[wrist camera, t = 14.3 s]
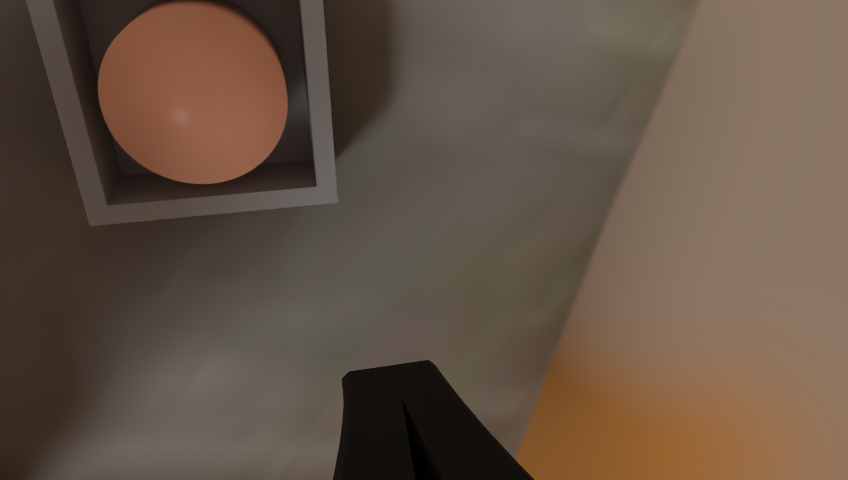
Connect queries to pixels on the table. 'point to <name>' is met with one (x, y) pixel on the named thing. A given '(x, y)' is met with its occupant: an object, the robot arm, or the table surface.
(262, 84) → the button
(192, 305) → the table surface
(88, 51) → the button housing
